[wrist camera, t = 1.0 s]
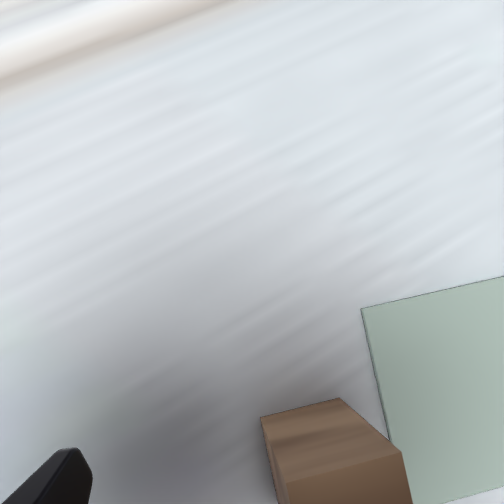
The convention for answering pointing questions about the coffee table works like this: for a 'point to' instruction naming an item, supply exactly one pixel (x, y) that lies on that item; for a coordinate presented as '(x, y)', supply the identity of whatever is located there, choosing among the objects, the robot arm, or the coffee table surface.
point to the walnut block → (332, 458)
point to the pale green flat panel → (443, 387)
